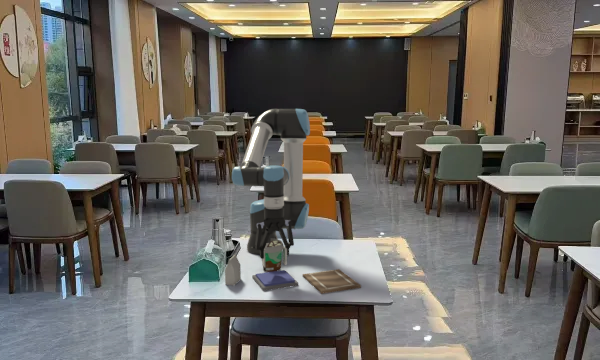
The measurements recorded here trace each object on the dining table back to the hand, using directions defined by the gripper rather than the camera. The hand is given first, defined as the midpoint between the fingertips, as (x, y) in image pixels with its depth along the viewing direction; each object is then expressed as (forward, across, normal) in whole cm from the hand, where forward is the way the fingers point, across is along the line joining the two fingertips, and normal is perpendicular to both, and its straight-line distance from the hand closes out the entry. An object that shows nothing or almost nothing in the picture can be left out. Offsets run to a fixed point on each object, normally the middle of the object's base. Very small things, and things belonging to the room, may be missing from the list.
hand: (274, 264), depth 201 cm
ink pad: (+7, 0, 0) cm, 7 cm away
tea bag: (+7, -15, +6) cm, 18 cm away
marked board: (+7, +20, -8) cm, 23 cm away
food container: (+1, 0, 0) cm, 2 cm away
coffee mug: (+7, +4, +15) cm, 17 cm away
